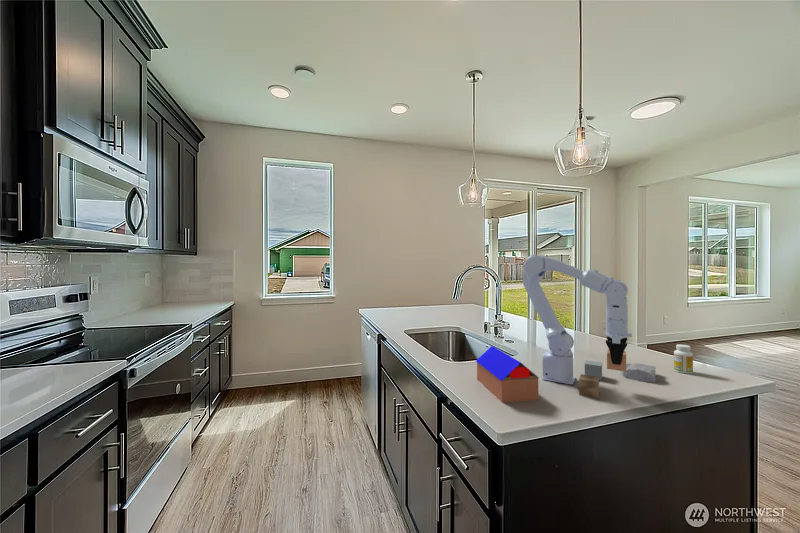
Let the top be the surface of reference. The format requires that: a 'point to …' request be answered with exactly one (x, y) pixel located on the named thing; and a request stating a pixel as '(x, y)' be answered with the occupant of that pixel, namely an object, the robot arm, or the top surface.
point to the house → (506, 377)
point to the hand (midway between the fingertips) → (616, 361)
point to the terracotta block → (614, 366)
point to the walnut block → (589, 386)
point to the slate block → (593, 369)
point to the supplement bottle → (683, 359)
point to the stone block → (640, 372)
